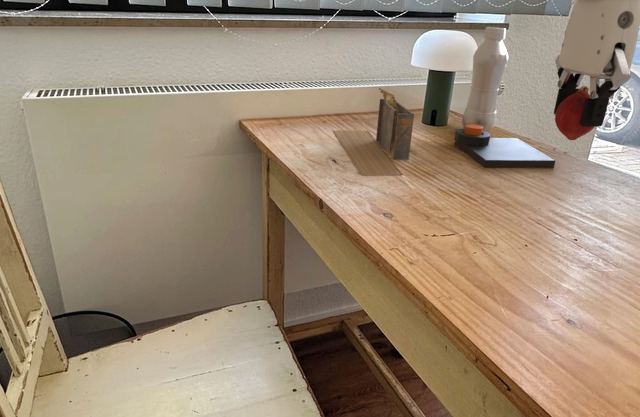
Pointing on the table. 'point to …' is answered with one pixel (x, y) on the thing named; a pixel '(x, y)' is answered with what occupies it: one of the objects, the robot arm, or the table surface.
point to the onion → (572, 115)
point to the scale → (501, 151)
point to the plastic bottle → (486, 80)
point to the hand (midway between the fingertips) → (576, 119)
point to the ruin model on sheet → (381, 139)
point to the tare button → (473, 129)
